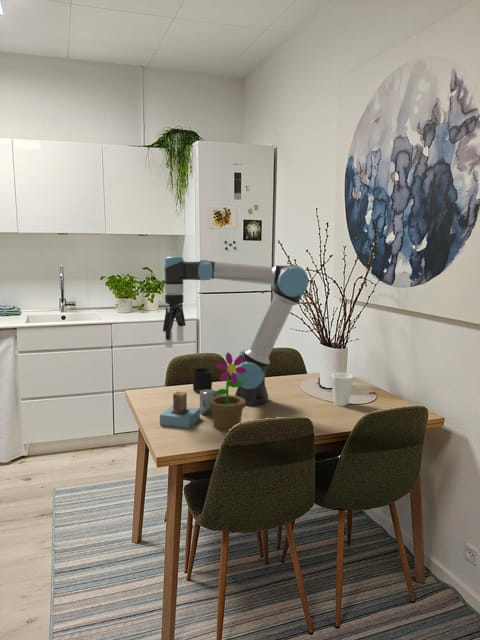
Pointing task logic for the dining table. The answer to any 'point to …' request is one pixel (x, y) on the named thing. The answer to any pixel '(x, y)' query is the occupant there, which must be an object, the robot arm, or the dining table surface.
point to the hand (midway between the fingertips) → (174, 344)
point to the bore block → (180, 417)
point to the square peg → (180, 403)
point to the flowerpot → (228, 397)
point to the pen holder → (202, 379)
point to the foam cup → (341, 388)
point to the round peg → (206, 401)
